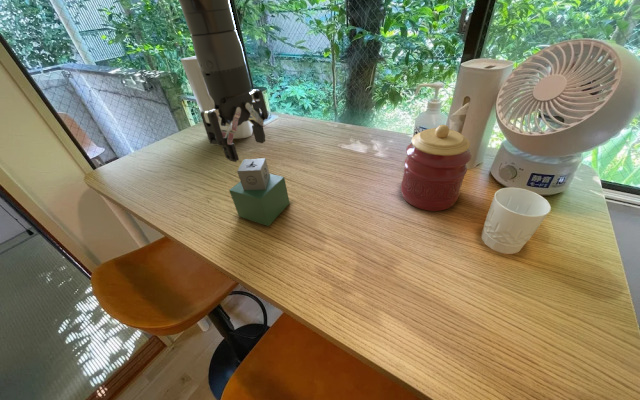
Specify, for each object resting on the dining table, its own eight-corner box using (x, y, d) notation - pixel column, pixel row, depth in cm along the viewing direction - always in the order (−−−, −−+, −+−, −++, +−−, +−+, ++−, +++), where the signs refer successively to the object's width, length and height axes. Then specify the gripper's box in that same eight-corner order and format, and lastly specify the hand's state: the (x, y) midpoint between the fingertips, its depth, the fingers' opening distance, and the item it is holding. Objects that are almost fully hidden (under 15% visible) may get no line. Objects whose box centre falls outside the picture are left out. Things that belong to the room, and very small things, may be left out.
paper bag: (227, 145, 95) (198, 61, 77) (209, 136, 103) (179, 59, 86) (268, 128, 104) (250, 50, 87) (248, 120, 113) (229, 48, 96)
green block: (268, 226, 58) (260, 199, 53) (239, 216, 62) (228, 190, 57) (289, 203, 64) (284, 176, 59) (261, 195, 68) (254, 169, 63)
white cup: (517, 229, 51) (539, 189, 45) (532, 260, 45) (560, 218, 39) (473, 224, 53) (489, 185, 47) (482, 253, 47) (501, 213, 41)
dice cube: (243, 190, 56) (237, 171, 53) (249, 177, 60) (243, 159, 57) (265, 189, 56) (260, 169, 53) (270, 176, 60) (265, 158, 57)
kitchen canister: (433, 175, 68) (448, 109, 57) (470, 203, 58) (496, 130, 47) (390, 187, 66) (397, 120, 55) (420, 218, 56) (437, 145, 45)
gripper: (235, 56, 49) (255, 135, 59) (172, 74, 40) (209, 164, 50) (266, 56, 46) (282, 139, 56) (206, 75, 37) (238, 171, 46)
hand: (248, 150), depth 53 cm, fingers open, 8 cm apart
